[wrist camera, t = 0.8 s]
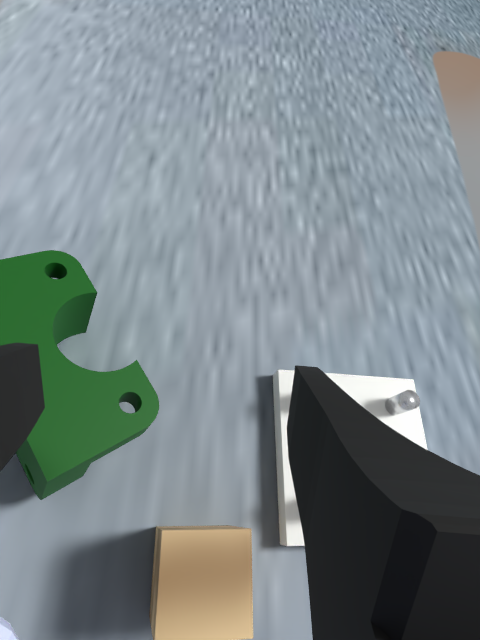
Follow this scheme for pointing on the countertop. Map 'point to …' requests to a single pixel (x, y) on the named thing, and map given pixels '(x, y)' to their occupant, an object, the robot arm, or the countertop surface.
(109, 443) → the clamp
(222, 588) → the block
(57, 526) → the countertop surface
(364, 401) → the plate
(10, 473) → the countertop surface
